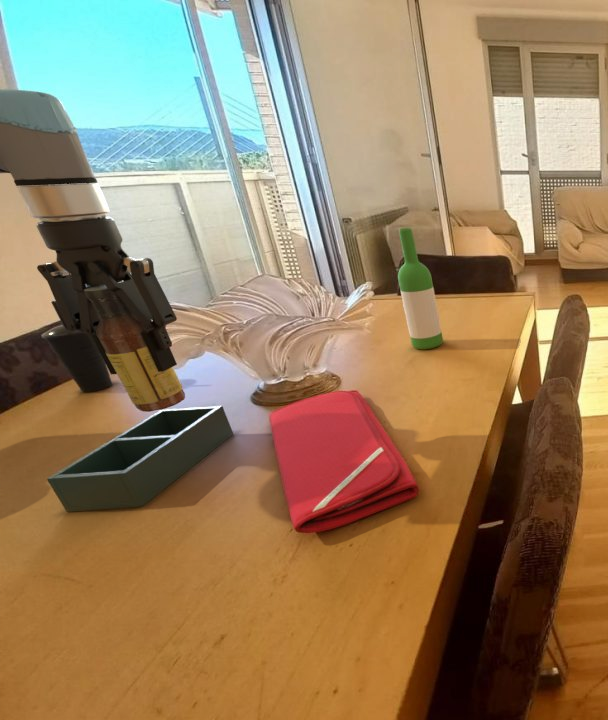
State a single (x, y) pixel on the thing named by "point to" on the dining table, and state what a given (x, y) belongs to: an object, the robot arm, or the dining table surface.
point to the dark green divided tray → (141, 460)
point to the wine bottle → (418, 297)
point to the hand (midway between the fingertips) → (144, 369)
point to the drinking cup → (78, 356)
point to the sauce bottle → (132, 354)
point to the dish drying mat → (337, 461)
